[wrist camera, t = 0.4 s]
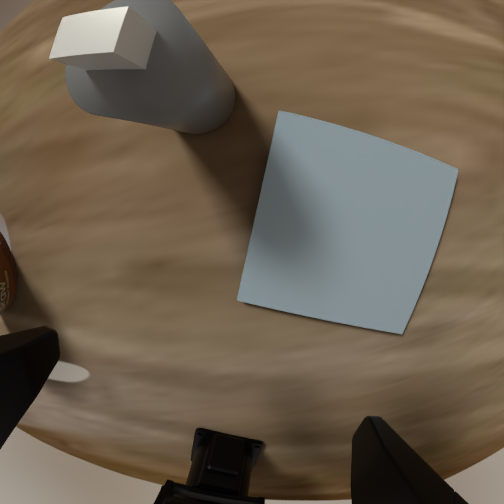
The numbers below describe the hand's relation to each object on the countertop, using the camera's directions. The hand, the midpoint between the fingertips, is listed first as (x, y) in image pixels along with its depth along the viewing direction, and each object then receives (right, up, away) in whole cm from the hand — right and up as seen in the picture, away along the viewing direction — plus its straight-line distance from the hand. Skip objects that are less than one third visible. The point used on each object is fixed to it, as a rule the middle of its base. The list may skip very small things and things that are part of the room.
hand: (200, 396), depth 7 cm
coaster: (+8, +5, +11) cm, 14 cm away
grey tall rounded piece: (-2, +13, +10) cm, 16 cm away
